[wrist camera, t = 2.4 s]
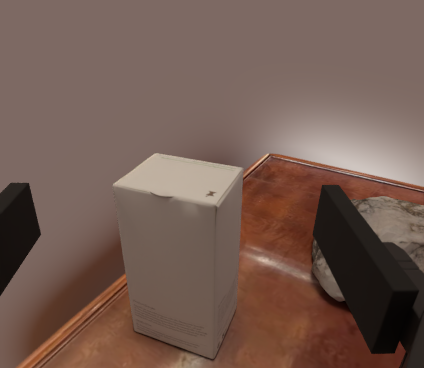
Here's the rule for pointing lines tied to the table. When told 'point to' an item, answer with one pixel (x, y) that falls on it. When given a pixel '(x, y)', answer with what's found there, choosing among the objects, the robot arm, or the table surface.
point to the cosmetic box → (181, 248)
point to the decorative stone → (381, 234)
